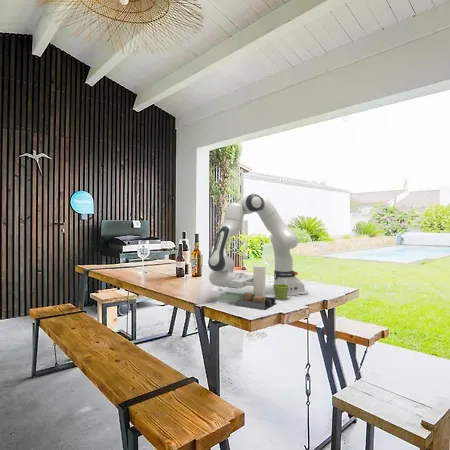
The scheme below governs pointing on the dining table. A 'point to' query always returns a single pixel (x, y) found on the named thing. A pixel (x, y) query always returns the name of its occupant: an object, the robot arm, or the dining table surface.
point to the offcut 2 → (259, 299)
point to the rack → (257, 304)
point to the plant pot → (281, 291)
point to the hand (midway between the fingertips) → (257, 282)
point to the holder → (230, 297)
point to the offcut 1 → (248, 297)
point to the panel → (259, 281)
